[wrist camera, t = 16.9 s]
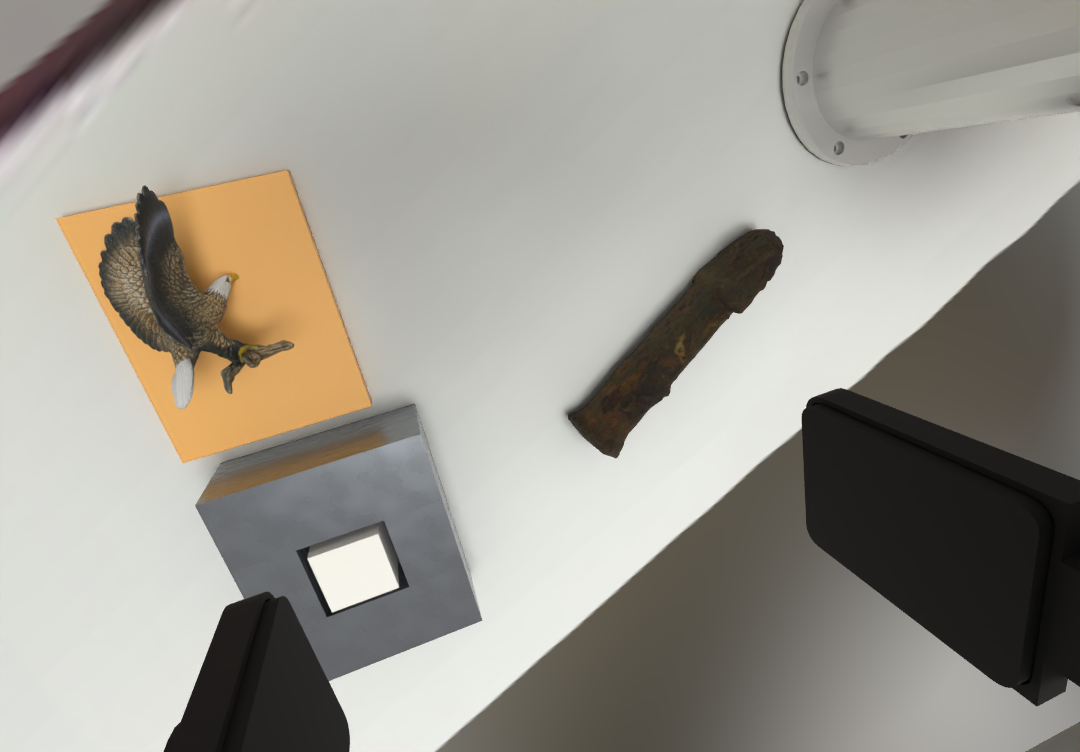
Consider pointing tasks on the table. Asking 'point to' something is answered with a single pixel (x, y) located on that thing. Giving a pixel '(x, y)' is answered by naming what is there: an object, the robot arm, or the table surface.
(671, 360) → the hand tool
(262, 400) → the pad
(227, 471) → the breaker box
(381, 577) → the button
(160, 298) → the eagle figurine
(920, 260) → the table surface
